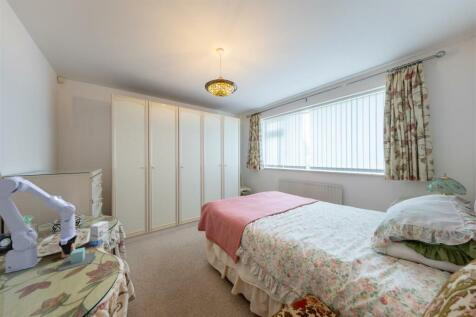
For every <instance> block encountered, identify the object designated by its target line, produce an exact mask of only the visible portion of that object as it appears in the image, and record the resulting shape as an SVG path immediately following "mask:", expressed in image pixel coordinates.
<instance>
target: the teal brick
mask: <svg viewBox="0 0 476 317" xmlns="http://www.w3.org/2000/svg"><path fill="white" fill-rule="evenodd" d="M85 254H86V247H85V246H84V247H81V248H80V247H79V248H76V249H75V250H73V251H72V253H71V256H70V257H71V264H73V263H77V262H81V261H83V260H84V258H85Z"/></svg>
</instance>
